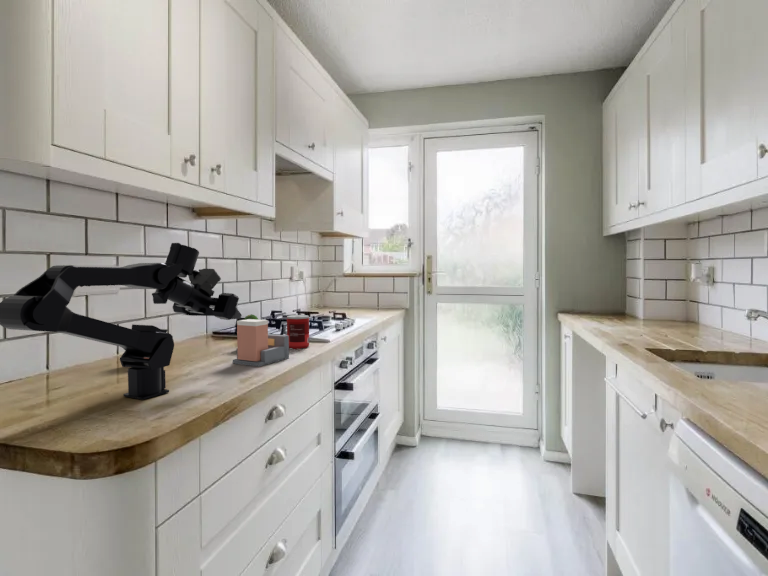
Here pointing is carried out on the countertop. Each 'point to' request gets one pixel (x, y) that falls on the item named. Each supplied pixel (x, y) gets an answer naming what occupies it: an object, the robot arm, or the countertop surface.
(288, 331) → the canned food
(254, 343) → the pink white rectangular block
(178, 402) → the countertop surface
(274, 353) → the housing
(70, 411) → the countertop surface
